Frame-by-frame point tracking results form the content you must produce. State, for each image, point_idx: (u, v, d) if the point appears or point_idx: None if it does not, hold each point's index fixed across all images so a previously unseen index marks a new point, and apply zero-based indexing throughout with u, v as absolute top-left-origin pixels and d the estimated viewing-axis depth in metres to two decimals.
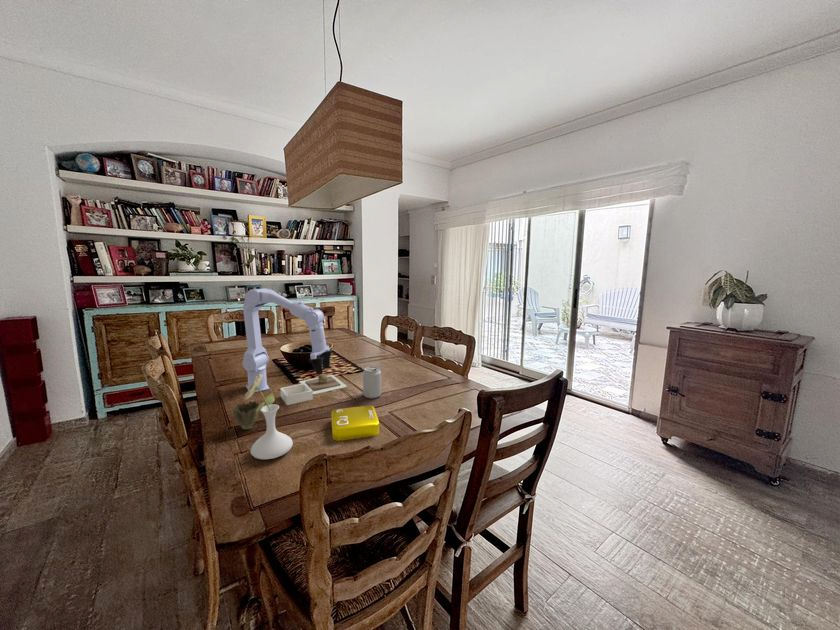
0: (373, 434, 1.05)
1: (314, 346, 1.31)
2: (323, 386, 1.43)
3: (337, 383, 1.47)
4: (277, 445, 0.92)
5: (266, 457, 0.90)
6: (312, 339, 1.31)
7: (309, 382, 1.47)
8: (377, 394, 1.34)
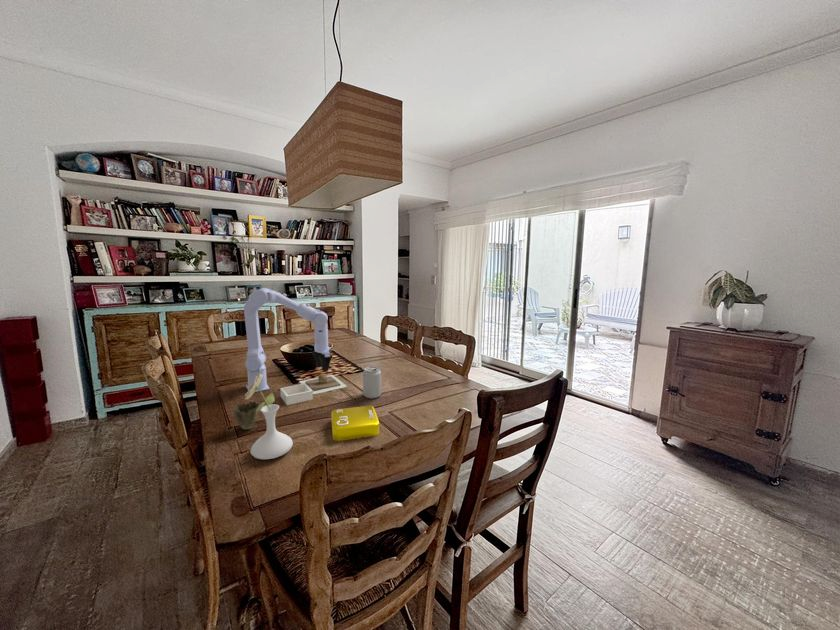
0: (373, 434, 1.05)
1: (321, 345, 1.42)
2: (323, 386, 1.43)
3: (337, 383, 1.47)
4: (277, 445, 0.92)
5: (266, 457, 0.90)
6: (318, 339, 1.41)
7: (309, 382, 1.47)
8: (377, 394, 1.34)
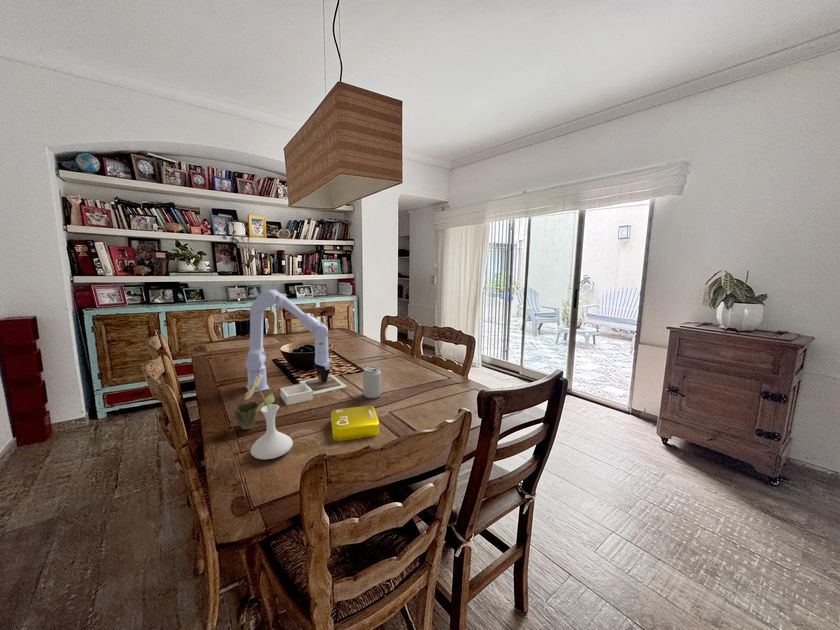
0: (373, 434, 1.05)
1: (322, 358, 1.43)
2: (323, 386, 1.43)
3: (337, 383, 1.47)
4: (277, 445, 0.92)
5: (266, 457, 0.90)
6: (318, 351, 1.42)
7: (309, 382, 1.47)
8: (377, 394, 1.34)
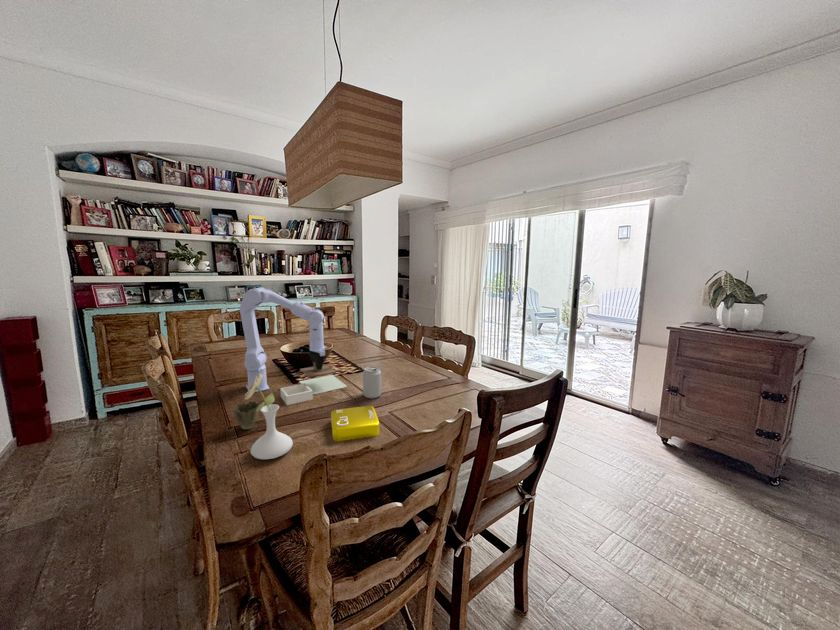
0: (373, 434, 1.05)
1: (316, 344, 1.39)
2: (318, 373, 1.39)
3: (332, 370, 1.43)
4: (277, 445, 0.92)
5: (266, 457, 0.90)
6: (313, 337, 1.38)
7: (304, 370, 1.44)
8: (377, 394, 1.34)
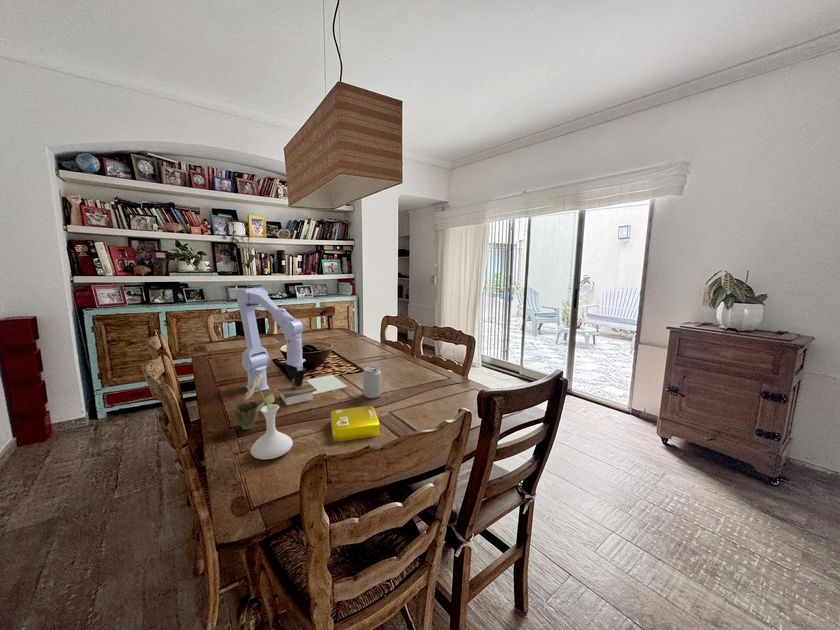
0: (373, 434, 1.05)
1: (294, 357, 1.27)
2: (296, 392, 1.27)
3: (313, 388, 1.31)
4: (277, 445, 0.92)
5: (266, 457, 0.90)
6: (287, 350, 1.27)
7: (281, 387, 1.32)
8: (377, 394, 1.34)
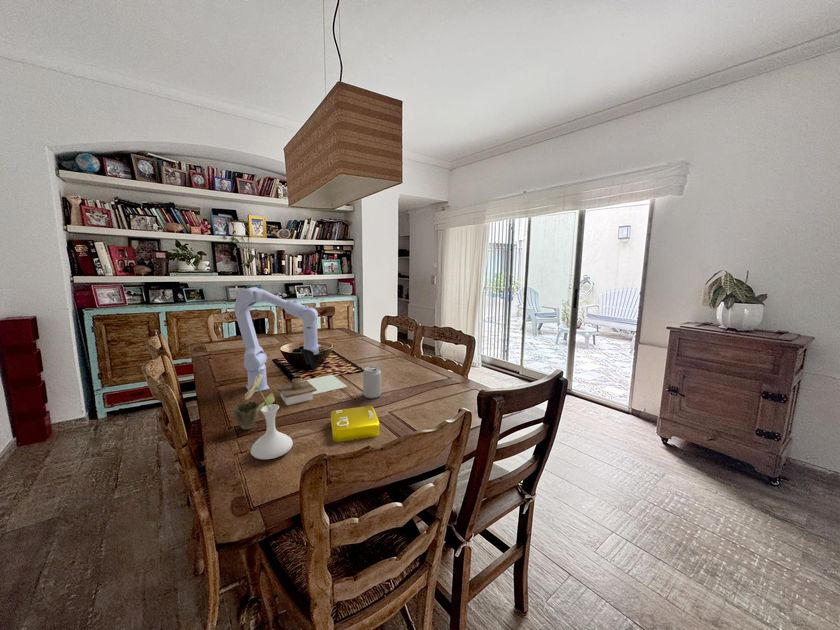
0: (373, 435, 1.05)
1: (310, 342, 1.38)
2: (296, 392, 1.27)
3: (313, 388, 1.31)
4: (277, 445, 0.92)
5: (266, 457, 0.90)
6: (306, 336, 1.37)
7: (281, 387, 1.32)
8: (377, 394, 1.34)
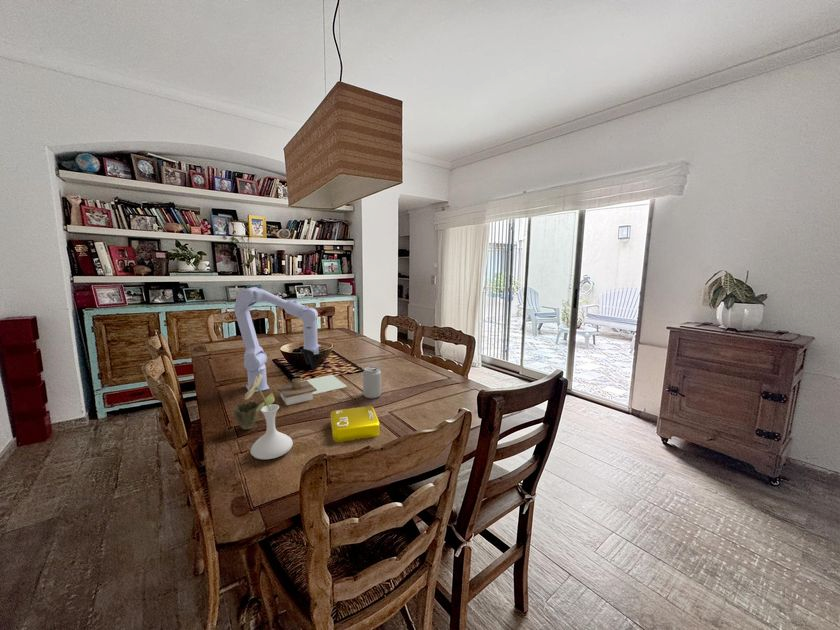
0: (374, 435, 1.05)
1: (310, 342, 1.38)
2: (296, 392, 1.27)
3: (313, 388, 1.31)
4: (277, 445, 0.92)
5: (266, 457, 0.90)
6: (306, 336, 1.37)
7: (281, 387, 1.32)
8: (377, 394, 1.34)
